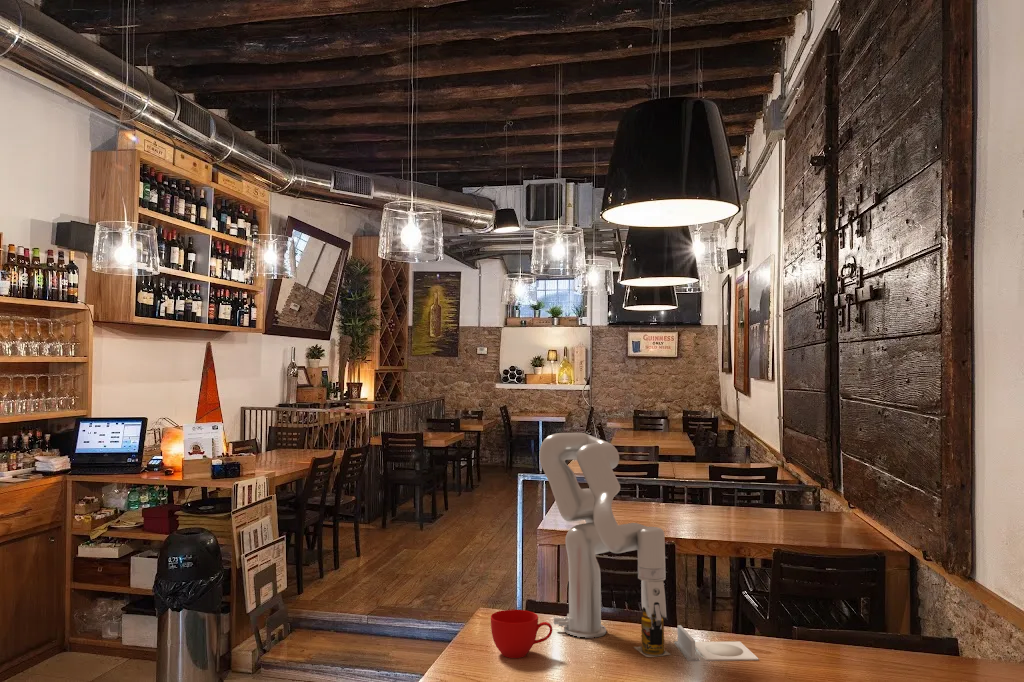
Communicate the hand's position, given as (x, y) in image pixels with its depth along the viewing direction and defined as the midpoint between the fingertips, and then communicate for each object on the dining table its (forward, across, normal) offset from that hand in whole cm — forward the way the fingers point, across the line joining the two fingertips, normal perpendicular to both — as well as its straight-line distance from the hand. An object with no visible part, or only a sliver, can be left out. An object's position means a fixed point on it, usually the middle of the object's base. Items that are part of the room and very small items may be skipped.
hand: (653, 639), depth 195 cm
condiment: (+4, +1, 0) cm, 4 cm away
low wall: (+3, 0, -9) cm, 10 cm away
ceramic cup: (+3, -1, +36) cm, 36 cm away
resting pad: (+3, 0, -20) cm, 20 cm away
